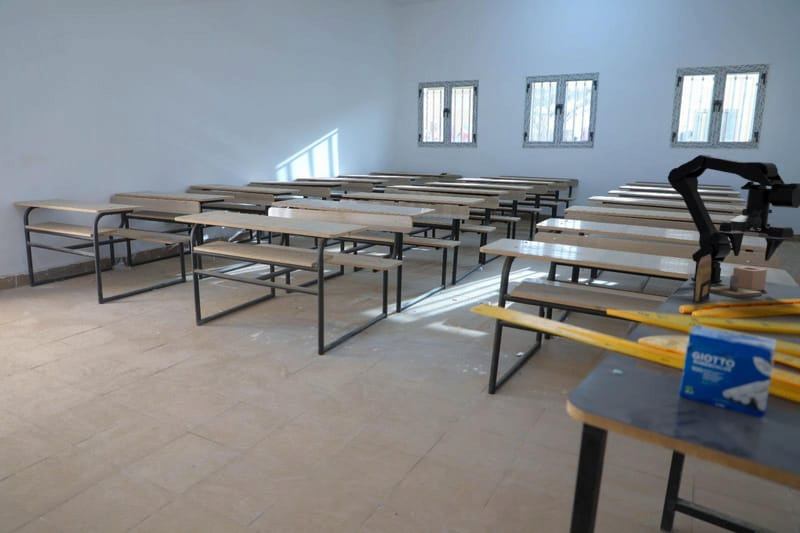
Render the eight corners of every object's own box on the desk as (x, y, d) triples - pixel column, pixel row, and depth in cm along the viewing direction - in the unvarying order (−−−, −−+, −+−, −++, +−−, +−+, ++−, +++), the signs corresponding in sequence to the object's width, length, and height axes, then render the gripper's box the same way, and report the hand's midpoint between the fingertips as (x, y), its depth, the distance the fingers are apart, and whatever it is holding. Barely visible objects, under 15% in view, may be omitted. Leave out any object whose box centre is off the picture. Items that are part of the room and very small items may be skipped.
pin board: (705, 291, 160) (706, 274, 159) (728, 288, 164) (730, 272, 163) (737, 298, 151) (740, 280, 150) (761, 295, 155) (763, 278, 154)
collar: (731, 287, 166) (733, 267, 165) (744, 285, 168) (747, 266, 167) (751, 291, 160) (753, 271, 159) (764, 289, 163) (766, 269, 162)
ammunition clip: (700, 302, 145) (705, 258, 143) (692, 301, 146) (697, 257, 144) (709, 296, 153) (714, 253, 151) (702, 295, 154) (706, 253, 152)
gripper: (709, 204, 165) (704, 255, 168) (772, 208, 148) (765, 265, 151) (734, 203, 170) (728, 253, 172) (798, 207, 153) (790, 262, 156)
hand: (751, 258), depth 163 cm, fingers open, 9 cm apart
